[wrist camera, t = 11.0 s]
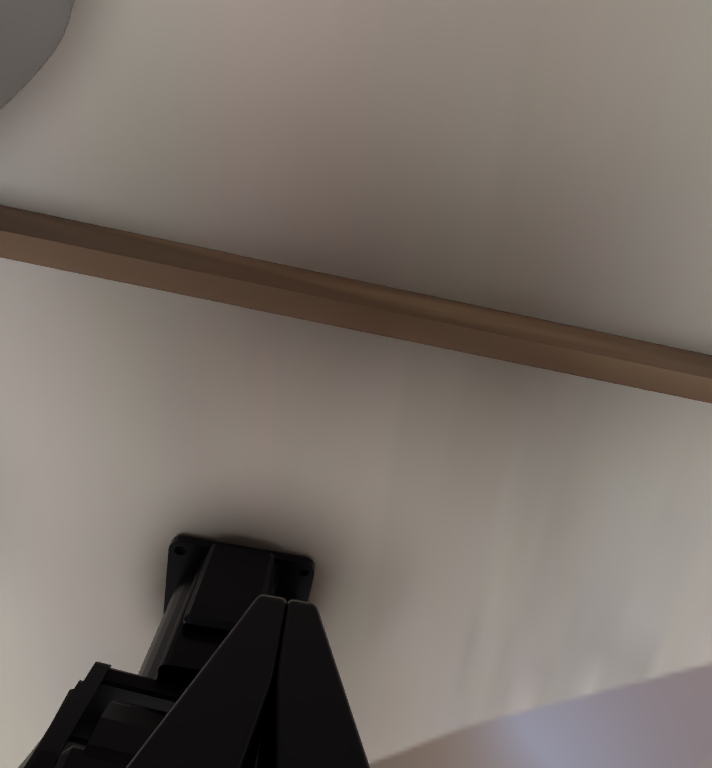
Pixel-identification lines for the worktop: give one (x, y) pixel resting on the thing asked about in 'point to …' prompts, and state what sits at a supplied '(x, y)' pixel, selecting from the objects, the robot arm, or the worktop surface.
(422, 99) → the worktop surface
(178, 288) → the guide rails
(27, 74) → the lumpy-topped squat cylinder
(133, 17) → the worktop surface
